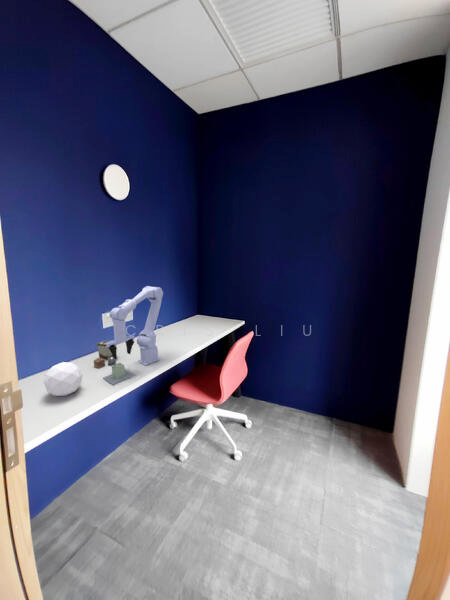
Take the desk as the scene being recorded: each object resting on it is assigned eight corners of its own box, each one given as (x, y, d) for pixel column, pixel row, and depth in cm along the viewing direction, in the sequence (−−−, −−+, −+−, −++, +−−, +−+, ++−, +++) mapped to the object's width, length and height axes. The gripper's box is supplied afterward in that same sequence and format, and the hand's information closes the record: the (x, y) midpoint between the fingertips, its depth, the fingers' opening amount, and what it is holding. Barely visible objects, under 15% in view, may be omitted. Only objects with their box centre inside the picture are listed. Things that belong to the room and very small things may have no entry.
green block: (120, 373, 133) (119, 362, 132) (125, 375, 130) (124, 365, 129) (112, 376, 130) (111, 365, 129) (116, 379, 127) (115, 368, 126)
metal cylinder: (115, 361, 147) (115, 355, 146) (115, 364, 144) (115, 358, 143) (108, 362, 146) (108, 355, 145) (107, 365, 142) (107, 359, 141)
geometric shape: (56, 405, 115) (34, 380, 113) (86, 381, 126) (65, 358, 124) (61, 403, 105) (36, 376, 103) (93, 377, 115) (71, 352, 113)
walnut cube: (100, 364, 144) (100, 357, 143) (105, 366, 142) (104, 359, 141) (94, 367, 141) (93, 360, 140) (98, 368, 139) (98, 362, 138)
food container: (122, 357, 154) (120, 341, 151) (115, 361, 148) (113, 345, 146) (105, 354, 157) (103, 339, 155) (97, 358, 151) (96, 342, 149)
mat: (125, 369, 138) (125, 369, 138) (135, 375, 131) (135, 375, 131) (102, 378, 129) (102, 377, 128) (112, 385, 122) (112, 384, 122)
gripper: (128, 326, 137) (130, 349, 140) (102, 333, 126) (104, 358, 129) (136, 328, 132) (137, 353, 135) (108, 336, 121) (111, 362, 124)
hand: (122, 355), depth 132 cm, fingers open, 7 cm apart
